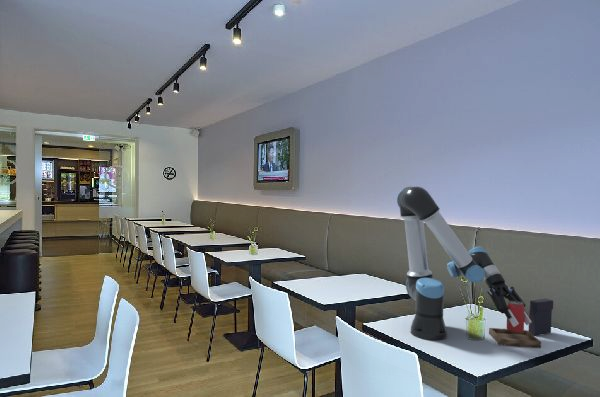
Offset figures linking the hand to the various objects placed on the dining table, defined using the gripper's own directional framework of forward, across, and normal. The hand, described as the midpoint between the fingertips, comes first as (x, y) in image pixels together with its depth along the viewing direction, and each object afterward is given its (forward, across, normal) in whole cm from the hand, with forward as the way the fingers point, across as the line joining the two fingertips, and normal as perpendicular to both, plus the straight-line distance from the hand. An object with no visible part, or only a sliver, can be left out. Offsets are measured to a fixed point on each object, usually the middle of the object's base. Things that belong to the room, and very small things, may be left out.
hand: (522, 324), depth 173 cm
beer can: (0, 0, -5) cm, 5 cm away
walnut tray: (+3, 0, -8) cm, 9 cm away
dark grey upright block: (+1, -18, -11) cm, 21 cm away
